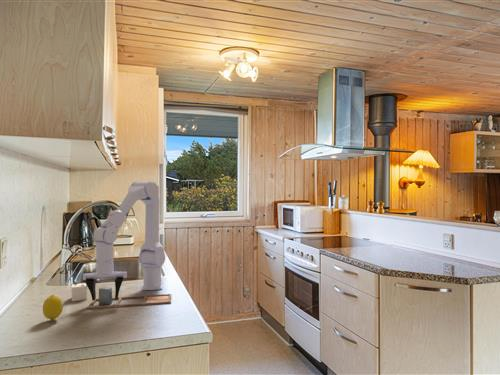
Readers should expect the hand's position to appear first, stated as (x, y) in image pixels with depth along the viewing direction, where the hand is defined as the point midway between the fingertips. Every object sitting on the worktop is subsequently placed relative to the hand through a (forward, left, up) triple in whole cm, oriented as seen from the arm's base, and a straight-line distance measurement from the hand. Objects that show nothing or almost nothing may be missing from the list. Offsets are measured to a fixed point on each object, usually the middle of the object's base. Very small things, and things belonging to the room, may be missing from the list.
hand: (105, 298), depth 132 cm
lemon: (+14, -13, -2) cm, 19 cm away
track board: (0, +9, -2) cm, 9 cm away
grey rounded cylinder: (0, 0, -2) cm, 2 cm away
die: (-9, -11, -2) cm, 14 cm away
